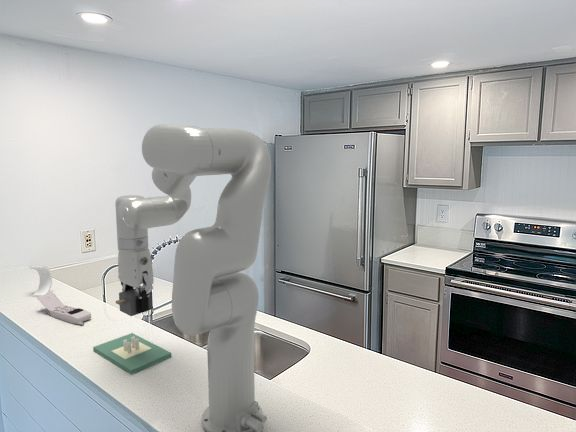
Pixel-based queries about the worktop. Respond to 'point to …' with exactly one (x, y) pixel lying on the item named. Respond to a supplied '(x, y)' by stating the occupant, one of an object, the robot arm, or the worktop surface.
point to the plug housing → (131, 301)
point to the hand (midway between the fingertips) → (136, 308)
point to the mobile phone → (63, 310)
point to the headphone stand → (43, 281)
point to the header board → (132, 353)
